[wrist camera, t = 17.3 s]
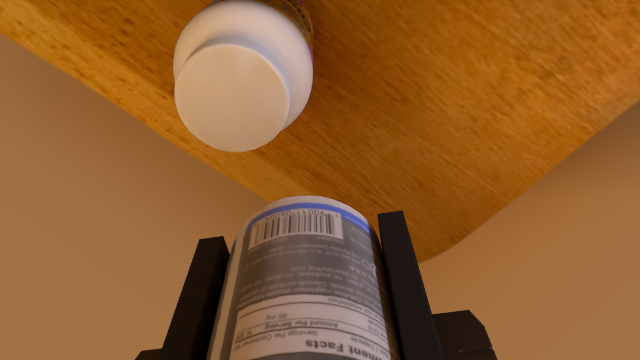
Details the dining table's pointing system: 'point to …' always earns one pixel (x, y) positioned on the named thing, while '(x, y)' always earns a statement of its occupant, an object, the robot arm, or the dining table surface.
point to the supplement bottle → (243, 71)
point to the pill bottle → (305, 287)
